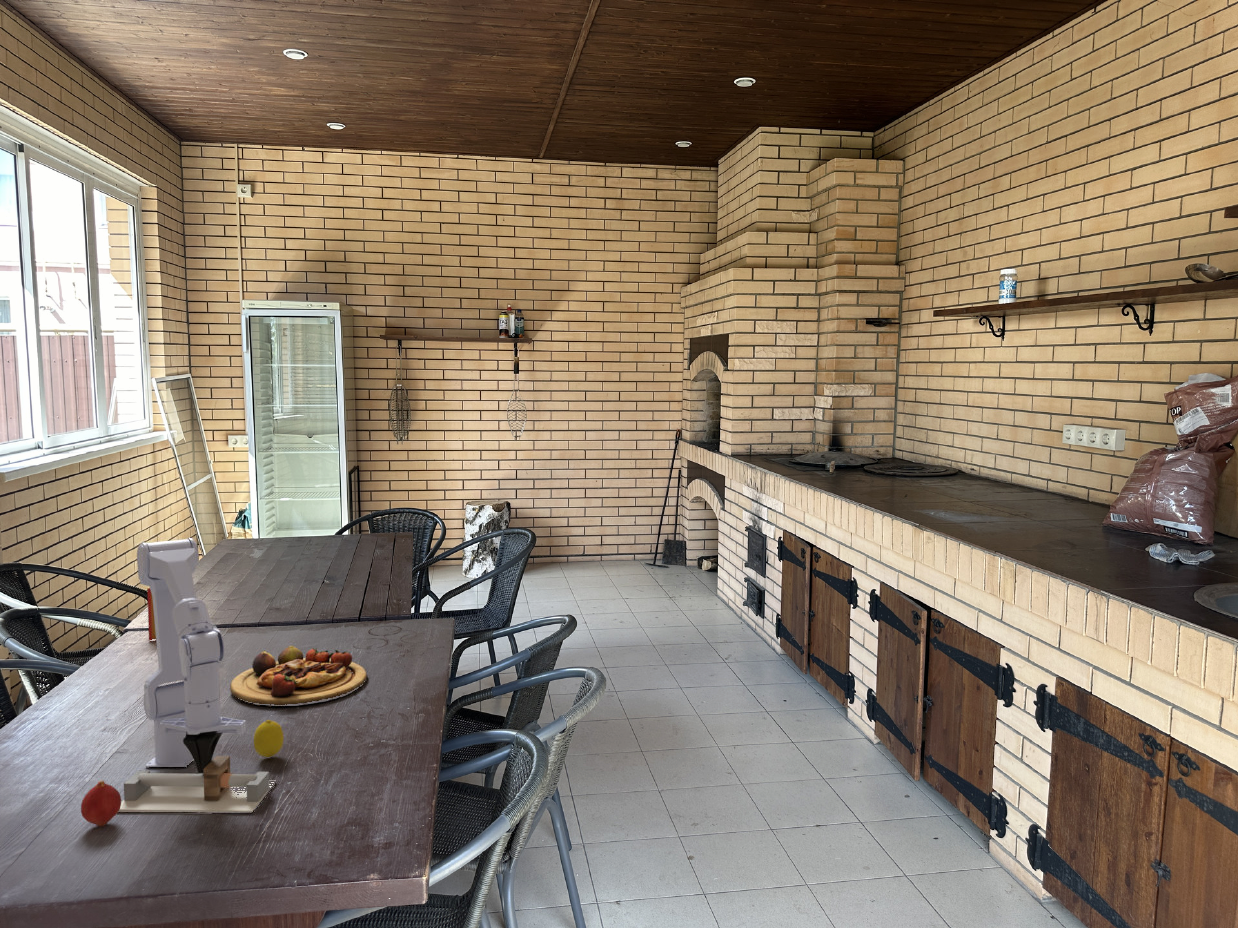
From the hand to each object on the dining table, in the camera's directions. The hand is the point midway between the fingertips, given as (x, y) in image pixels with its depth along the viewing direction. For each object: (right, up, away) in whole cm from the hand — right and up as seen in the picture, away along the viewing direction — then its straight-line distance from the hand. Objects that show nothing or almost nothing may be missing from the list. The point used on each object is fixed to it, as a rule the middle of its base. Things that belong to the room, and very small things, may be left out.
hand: (204, 770), depth 149 cm
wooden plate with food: (-5, 0, +57) cm, 57 cm away
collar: (+2, -5, +1) cm, 6 cm away
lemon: (+5, -4, +17) cm, 18 cm away
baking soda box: (-59, +5, +92) cm, 109 cm away
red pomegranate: (-13, -6, -10) cm, 17 cm away
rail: (-1, -5, 0) cm, 5 cm away
